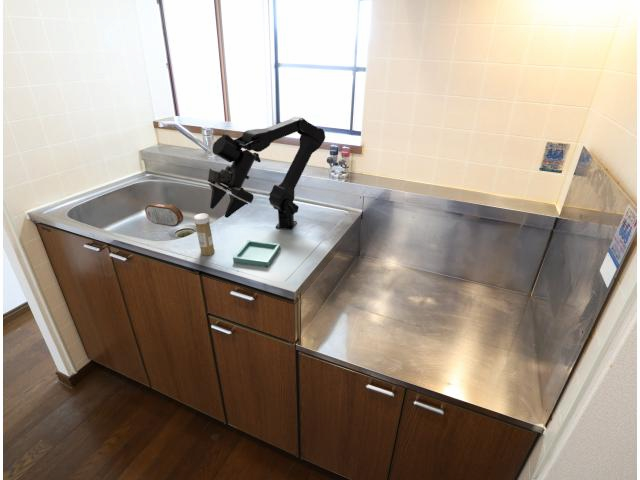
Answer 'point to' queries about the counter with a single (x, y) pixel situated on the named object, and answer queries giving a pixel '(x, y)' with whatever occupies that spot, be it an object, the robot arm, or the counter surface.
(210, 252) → the sprinkles bottle
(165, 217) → the tin
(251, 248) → the teal tray
